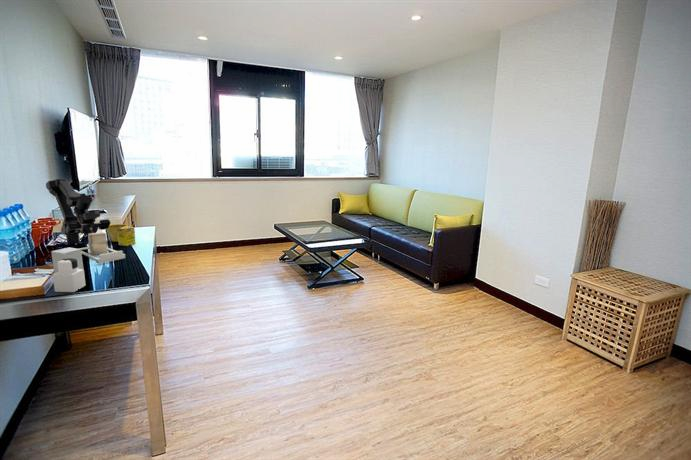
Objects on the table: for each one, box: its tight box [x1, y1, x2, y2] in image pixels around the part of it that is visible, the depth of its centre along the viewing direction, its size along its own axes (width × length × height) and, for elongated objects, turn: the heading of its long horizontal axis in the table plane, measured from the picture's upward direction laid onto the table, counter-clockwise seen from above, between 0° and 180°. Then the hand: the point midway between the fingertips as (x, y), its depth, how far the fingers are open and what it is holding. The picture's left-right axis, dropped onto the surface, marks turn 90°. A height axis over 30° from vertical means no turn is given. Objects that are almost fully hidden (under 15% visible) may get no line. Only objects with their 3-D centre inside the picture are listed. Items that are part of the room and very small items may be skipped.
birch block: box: [87, 231, 109, 256], centre depth 179 cm, size 5×6×10 cm
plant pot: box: [106, 223, 128, 243], centre depth 204 cm, size 10×10×10 cm
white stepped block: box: [52, 258, 87, 293], centre depth 137 cm, size 7×7×12 cm
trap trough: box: [78, 246, 126, 264], centre depth 179 cm, size 26×12×4 cm, turn 57°
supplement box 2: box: [117, 225, 136, 247], centre depth 197 cm, size 6×6×11 cm
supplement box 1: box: [50, 246, 84, 274], centre depth 146 cm, size 7×7×13 cm
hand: (95, 239), depth 180 cm, fingers closed, pressing on birch block
